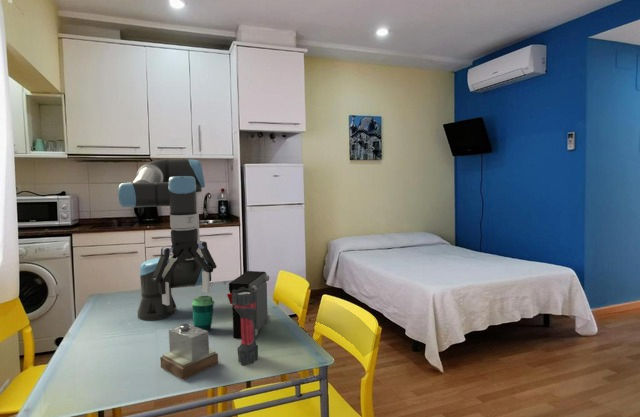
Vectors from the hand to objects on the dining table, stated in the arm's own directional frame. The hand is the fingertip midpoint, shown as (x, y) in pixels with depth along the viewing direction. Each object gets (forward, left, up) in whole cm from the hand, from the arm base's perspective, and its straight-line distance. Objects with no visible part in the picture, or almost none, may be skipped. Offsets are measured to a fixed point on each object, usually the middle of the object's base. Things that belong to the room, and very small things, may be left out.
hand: (187, 298), depth 115 cm
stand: (0, 0, -21) cm, 21 cm away
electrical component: (-6, +30, -21) cm, 37 cm away
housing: (0, 0, -17) cm, 17 cm away
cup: (-20, +19, -21) cm, 35 cm away
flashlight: (+13, +12, -21) cm, 27 cm away
